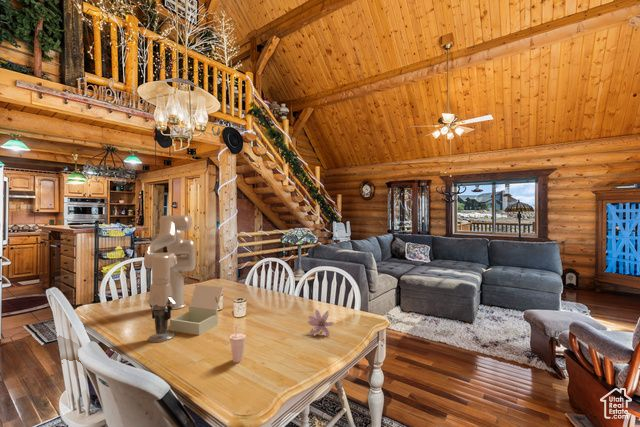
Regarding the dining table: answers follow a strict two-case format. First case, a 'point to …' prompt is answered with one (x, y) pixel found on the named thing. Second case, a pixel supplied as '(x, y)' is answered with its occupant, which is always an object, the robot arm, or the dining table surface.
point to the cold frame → (199, 311)
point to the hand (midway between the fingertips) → (161, 318)
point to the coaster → (161, 337)
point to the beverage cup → (160, 319)
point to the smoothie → (237, 346)
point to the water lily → (320, 323)
